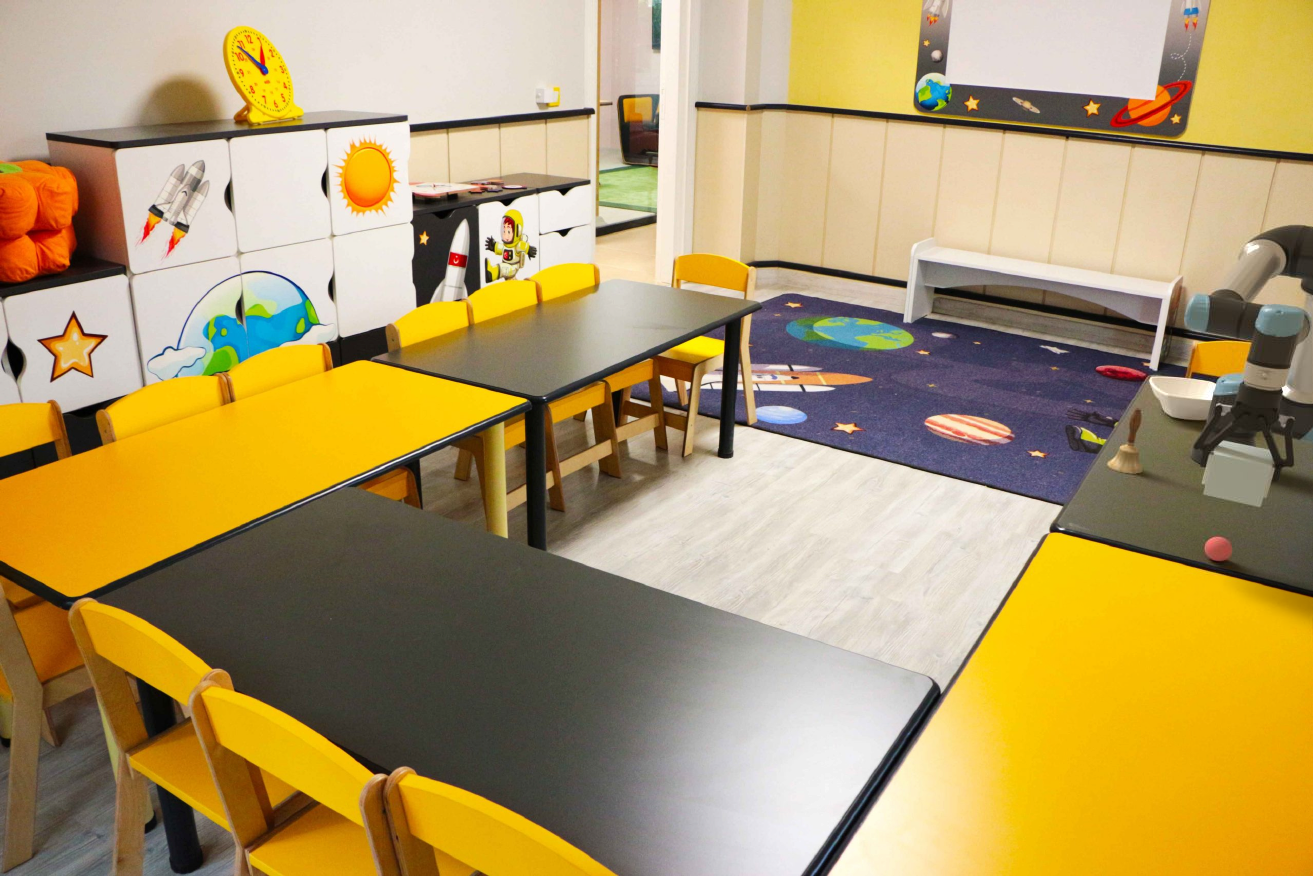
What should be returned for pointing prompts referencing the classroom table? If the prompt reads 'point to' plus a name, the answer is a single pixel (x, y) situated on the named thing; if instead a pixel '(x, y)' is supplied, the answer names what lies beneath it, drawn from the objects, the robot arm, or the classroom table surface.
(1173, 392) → the bowl
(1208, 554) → the ball
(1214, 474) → the rounded gray box
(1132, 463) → the hand bell
